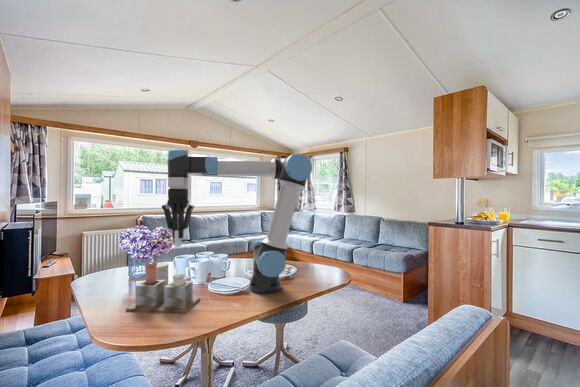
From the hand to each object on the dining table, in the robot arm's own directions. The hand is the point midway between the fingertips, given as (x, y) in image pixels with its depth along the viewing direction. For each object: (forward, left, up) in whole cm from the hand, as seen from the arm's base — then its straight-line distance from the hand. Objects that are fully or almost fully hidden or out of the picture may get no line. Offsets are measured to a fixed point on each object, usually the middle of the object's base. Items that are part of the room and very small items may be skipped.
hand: (178, 246), depth 117 cm
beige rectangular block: (+18, -16, -25) cm, 34 cm away
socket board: (+6, 0, -24) cm, 25 cm away
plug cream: (0, 0, -22) cm, 22 cm away
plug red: (+12, 0, -17) cm, 21 cm away
